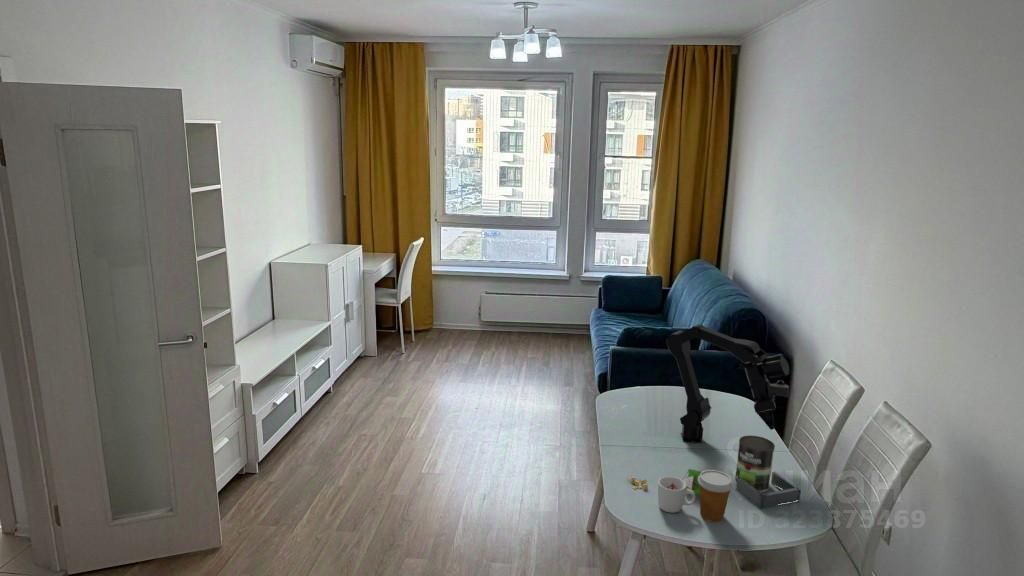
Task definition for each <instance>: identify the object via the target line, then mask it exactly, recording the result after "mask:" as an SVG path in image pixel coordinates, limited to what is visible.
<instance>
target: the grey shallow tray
mask: <svg viewBox="0 0 1024 576" xmlns="http://www.w3.org/2000/svg"><path fill="white" fill-rule="evenodd" d="M771 483H772V484H774V485H776V486H778V487H780V488H782V489H783V490H777V491H771V492H764V493H763V492H761V493H760V492H759V491H758V490H756V489H755V488H754V487H752V486H751V485H750V484H748V483H747V482H746V481H744V480H743V479H742V478H737V485H736V489H735V490H736V491H737V492H739V493H740V494H741V495H743V497H745V499H747V500H749V501H750V502H751V503H752V504H753V505H755V506H756V507H758V509H759V510H762V509H763V510H764V509H767V508H773V507H772V506H774V507H777V506H776V505H778V504H781V503H787V502H793V501H796V500H800V501H801V493H802V488H800V487H798V486H797V485H795V484H794V483H792V482H791V481H789V479H787V478H785V477H784V476H782V474H781V475H780V473H778V472H776V471H771V478H770V484H771ZM772 484H771V485H772ZM774 485H773V486H774Z"/></svg>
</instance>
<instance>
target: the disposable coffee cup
mask: <svg viewBox="0 0 1024 576" xmlns="http://www.w3.org/2000/svg"><path fill="white" fill-rule="evenodd" d="M700 472H701V473H700V476H698V482H699V491H700V492H699V493H700V495H699V512H700V513H699V514H700V517H701V518H702V519H704V520H706V521H708V522H714V523H715V522H716V523H717V522H721V521H722V520H723V519H724V515H725V513H726V508H727V504H728V500H729V497H730V492H731V490H732V488H733V485H734V483H733V481H732V478H731V476H730V475H729V474H727V473H725V472H724V471H720V470H715V469H706V470H703V471H700Z"/></svg>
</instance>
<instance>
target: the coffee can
mask: <svg viewBox="0 0 1024 576" xmlns="http://www.w3.org/2000/svg"><path fill="white" fill-rule="evenodd" d="M738 442H739V445H738V450H737V451H738V452H737V459H736V460H737V461H736V468H735V469H736V470H735V478H734V483H735V485H736V486H737V478H742V479H743V480H744V481H746V482H747V483H748V484H750V485H751V486H752V487H754V488H755V489H756V490H758V491H759V492H760V493H766V492H767V491H768V490H770V484H771V476H772V467H773V462H774V461H773V459H774V453H775V447H776V444H775V443H774V442H773V441H772V440H769V439H768V438H765V437H763V436H758V435H744V436H741V437H740V438H739V439H738Z"/></svg>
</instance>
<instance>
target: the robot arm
mask: <svg viewBox="0 0 1024 576" xmlns="http://www.w3.org/2000/svg"><path fill="white" fill-rule="evenodd" d="M695 338H696V339H699V340H702V341H704V342H706V343H708V344H712V345H714V346H716V347H719V348H722V349H723V350H726V351H727V352H729V353H731V355H732V356H733V357H735V358H737V359H738V360H740V361H741V362H740V364H739V366H738V367H737V369H738V370H745V374H746V377H747V381H748V384H749V388H750V390H751V393H752V397H753V401H754V404H753V408H754V412H755V413H756V415H757V416H759V418H760V419H761V420H762V421H763V422H764V423H765V424H766V426H767V428H769V430H770V431H771V430H775V424H774V415H773V413H774V412H775V411H776V408H777V407H776V402H775V401H776V399H775V397H783V398H788V397H789V394H790V393H789V391H790V386H789V385H788V384H785V382H784V380H777V382H776V383H770V380H769V379H768V378H779V377H782V376H784V377H785V376H788V375H790V366H789V362H788V361H787V360H786V358H785V357H783V354H782V353H779V354H776V355H771V356H770V355H769V354H768V353H767V352H766V351H764V350H763V349H762V348H761V347H760V345H759V344H758V343H757V342H756V341H755V340H754V341H753V340H748V339H744V338H743V339H742V338H735V337H731V336H729V335H727V334H724V333H722V332H719V331H717V330H714V329H712V328H709V327H707V326H704V325H703V324H695V325H694V326H692V327H691V328H689V329H686V330H678V331H675V332H674V333H671V334H669V335H668V336H667V338H666V339H665V340H666V341H665V342H666V346H667V348H668V350H669V352H670V353H671V355H672V356H673V357H674V358H675V360H676V362H677V363H676V364H677V367H678V369H679V373H680V378H681V380H682V381H681V382H682V384H683V387H684V390H685V391H684V392H685V395H686V398H687V399H686V406H685V407H686V408H685V409H686V414H685V415H682V416H681V417H680V418H679V421H680V424H681V426H682V428H681V432H680V436H681V439H682V442H684V443H685V442H686V443H699V444H700V443H701V444H702V439H703V438H704V437H703V436H704V435H703V434H704V427H703V424H702V422H703V421H705V419H707V418H708V417H709V416H710V414H711V409H712V406H711V404H710V399H709V398H708V397H704V396H703V395H702V394H701V391H700V387H699V383H698V380H697V377H696V372H695V370H694V367H693V361H692V359H691V355H690V354H691V347H692V345H691V340H693V339H695ZM767 377H768V378H767Z"/></svg>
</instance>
